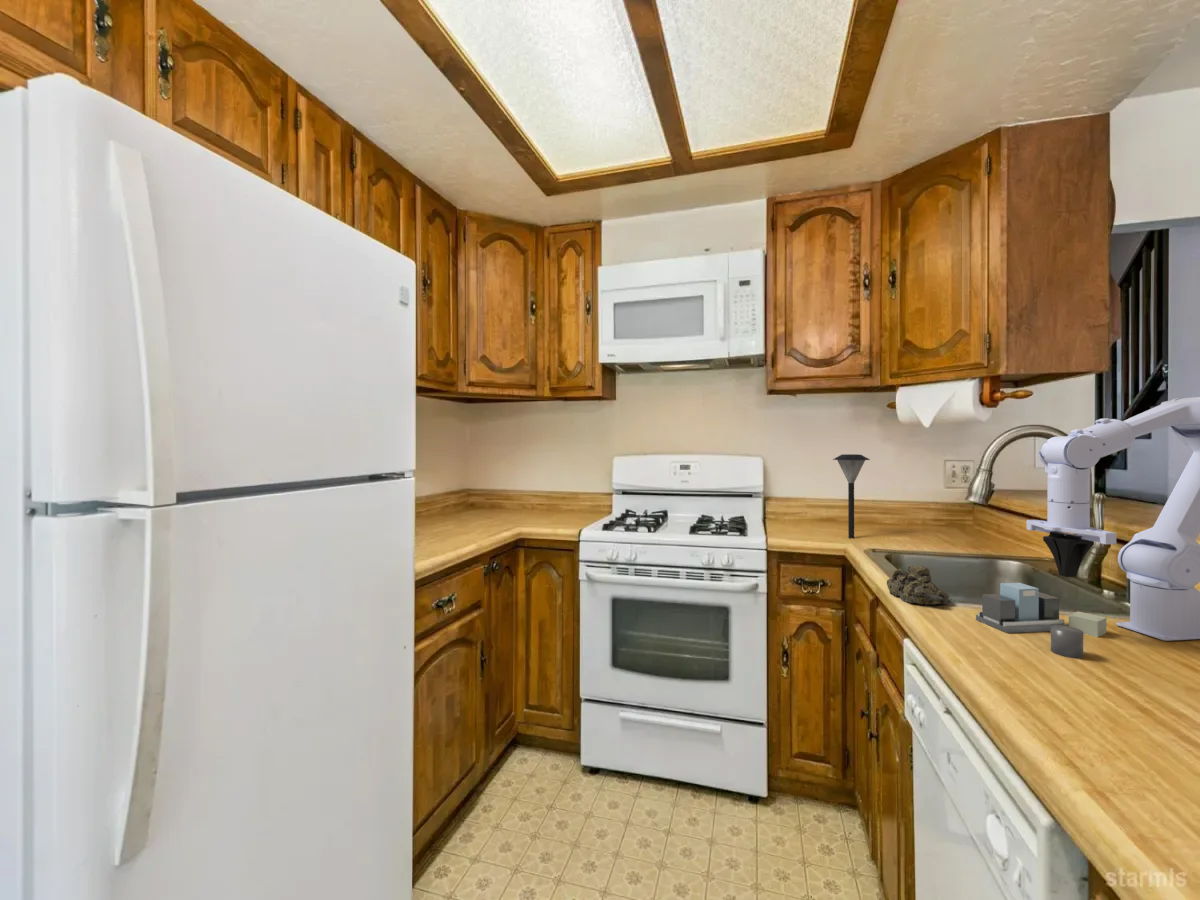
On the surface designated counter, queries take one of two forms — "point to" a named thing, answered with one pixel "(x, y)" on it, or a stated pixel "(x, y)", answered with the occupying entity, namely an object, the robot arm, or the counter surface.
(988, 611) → the rail base
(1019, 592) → the block
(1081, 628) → the block
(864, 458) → the solar garden light
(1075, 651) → the grey rounded cylinder
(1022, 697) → the counter surface
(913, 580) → the rock
